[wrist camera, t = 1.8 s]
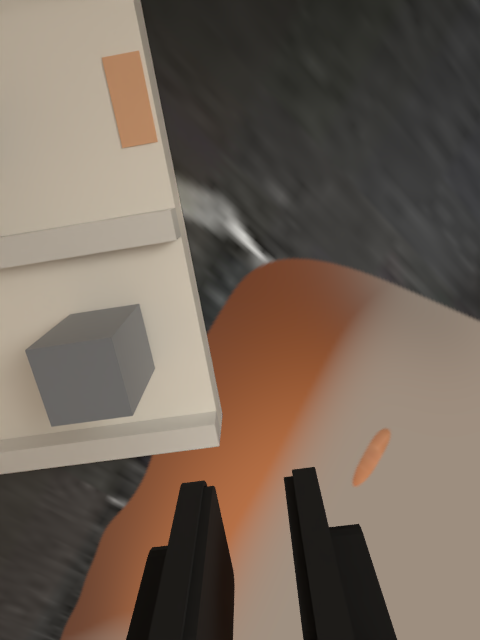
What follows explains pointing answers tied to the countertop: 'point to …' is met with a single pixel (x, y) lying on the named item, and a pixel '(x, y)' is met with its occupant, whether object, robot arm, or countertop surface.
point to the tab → (93, 365)
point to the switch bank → (92, 229)
